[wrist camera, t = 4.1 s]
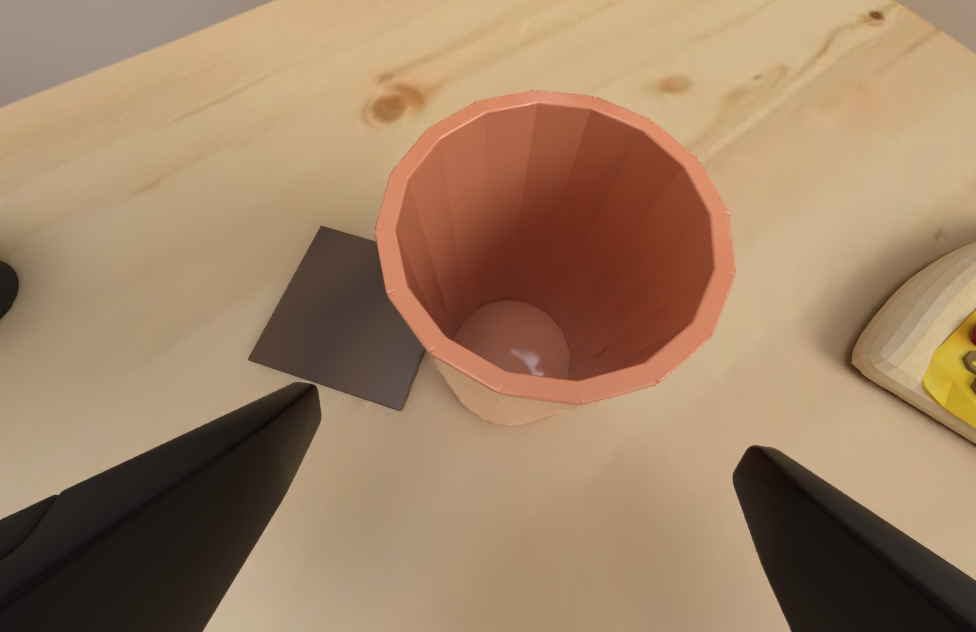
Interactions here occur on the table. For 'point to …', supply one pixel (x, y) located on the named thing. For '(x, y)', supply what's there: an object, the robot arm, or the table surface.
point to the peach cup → (553, 253)
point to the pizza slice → (929, 342)
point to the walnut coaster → (342, 324)
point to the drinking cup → (7, 287)
